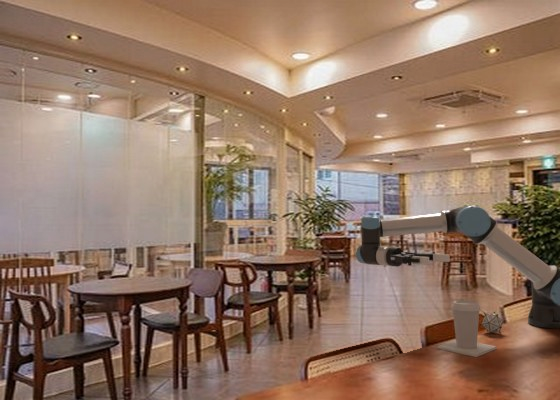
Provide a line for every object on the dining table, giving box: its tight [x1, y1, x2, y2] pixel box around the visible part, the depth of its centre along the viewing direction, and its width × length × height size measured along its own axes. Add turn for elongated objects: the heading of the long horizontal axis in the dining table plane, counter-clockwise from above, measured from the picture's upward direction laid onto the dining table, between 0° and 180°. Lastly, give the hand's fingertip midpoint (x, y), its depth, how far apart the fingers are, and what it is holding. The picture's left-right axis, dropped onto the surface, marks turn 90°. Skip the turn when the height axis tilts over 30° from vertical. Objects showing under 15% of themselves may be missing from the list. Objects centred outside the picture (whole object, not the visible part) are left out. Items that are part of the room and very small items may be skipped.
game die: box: [478, 311, 506, 335], centre depth 188 cm, size 9×8×10 cm
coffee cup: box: [450, 300, 482, 349], centre depth 167 cm, size 10×10×15 cm
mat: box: [436, 339, 497, 358], centre depth 167 cm, size 14×14×1 cm
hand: (439, 259), depth 175 cm, fingers open, 13 cm apart
